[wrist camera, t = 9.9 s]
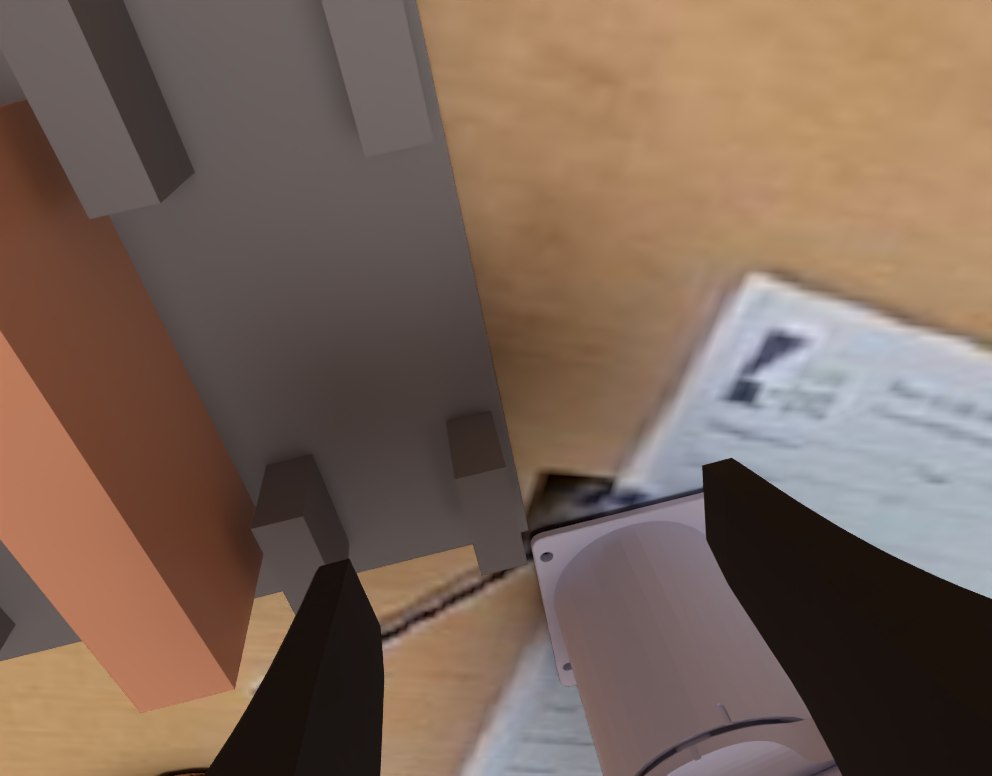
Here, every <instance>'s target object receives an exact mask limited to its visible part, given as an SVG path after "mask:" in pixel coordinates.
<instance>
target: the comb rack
mask: <svg viewBox="0 0 992 776" xmlns="http://www.w3.org/2000/svg"><path fill="white" fill-rule="evenodd" d="M22 99H27V100H28V102H29V104H30V106H31V108H32V110H33V112H34V114H35V116H36V117H37V119H38V121H39V123H40V125H41V127H42V129H43V131H44V133H45V135H46V137H47V139H48V141H49V142H50V144H51V146H52V148H53V150H54V152H55V154H56V156H57V158H58V160H59V162H60V164H61V166H62V167H63V169H64V171H65V173H66V175H67V177H68V179H69V181H70V183H71V185H72V187H73V189H74V191H75V192H76V194H77V196H78V198H79V200H80V202H81V204H82V206H83V208H84V210H85V212H86V214H87V216H88V217H89V219H92V218H97V217H101V216H106V215H109V217H110V219H111V221H112V223H113V225H114V227H115V229H116V231H117V233H118V235H119V237H120V239H121V241H122V243H123V245H124V247H125V249H126V251H127V253H128V255H129V257H130V259H131V261H132V263H133V265H134V266H135V268H136V270H137V272H138V274H139V276H140V278H141V280H142V282H143V284H144V286H145V288H146V290H147V292H148V294H149V296H150V298H151V300H152V302H153V304H154V306H155V308H156V310H157V312H158V314H159V316H160V318H161V320H162V322H163V324H164V326H165V328H166V330H167V332H168V334H169V336H170V338H171V340H172V342H173V344H174V346H175V348H176V350H177V352H178V354H179V356H180V358H181V360H182V362H183V364H184V366H185V368H186V370H187V372H188V374H189V376H190V378H191V380H192V382H193V384H194V386H195V388H196V390H197V392H198V394H199V396H200V398H201V400H202V402H203V404H204V406H205V408H206V410H207V412H208V414H209V416H210V418H211V420H212V422H213V424H214V426H215V428H216V430H217V432H218V434H219V436H220V438H221V440H222V442H223V444H224V446H225V448H226V450H227V452H228V454H229V456H230V458H231V460H232V462H233V464H234V466H235V468H236V470H237V472H238V473H239V475H240V477H241V479H242V481H243V483H244V485H245V487H246V489H247V491H248V493H249V495H250V497H251V499H252V501H253V503H254V505H255V507H256V510H255V514H254V518H253V522H252V526H251V531H252V533H253V535H254V537H255V539H256V540H257V542H258V544H259V546H260V548H261V550H262V552H263V559H262V563H261V568H260V573H259V577H258V582H257V587H256V592H255V596H254V598H257V597H261V596H265V595H269V594H274V593H278V592H282V591H283V592H284V594H285V596H286V598H287V600H288V602H289V604H290V606H291V608H292V610H293V612H294V613H295V615H296V614H297V612H298V610H299V607H300V605H301V603H302V601H303V599H304V597H305V594H306V592H307V590H308V588H309V586H310V583H311V581H312V579H313V577H314V575H315V572H316V571H317V569H318V568H319V566H322V565H326V564H330V563H334V562H338V561H341V560H345V559H349V558H350V561H351V563H352V565H353V567H354V569H355V572H356V573H358V572H362V571H366V570H370V569H374V568H378V567H382V566H386V565H391V564H395V563H399V562H403V561H407V560H411V559H415V558H419V557H423V556H427V555H431V554H435V553H439V552H443V551H447V550H451V549H455V548H459V547H463V546H467V545H471V544H473V546H474V550H475V554H476V557H477V561H478V564H479V568H480V571H481V575H486V574H490V573H494V572H498V571H502V570H506V569H510V568H514V567H518V566H522V565H526V564H527V559H526V555H525V550H524V546H523V541H522V537H521V532H524V531H528V525H527V521H526V516H525V511H524V507H523V502H522V497H521V492H520V488H519V483H518V478H517V474H516V469H515V464H514V459H513V455H512V450H511V445H510V441H509V436H508V431H507V426H506V422H505V417H504V412H503V408H502V403H501V398H500V393H499V389H498V384H497V379H496V375H495V370H494V365H493V361H492V356H491V351H490V346H489V342H488V337H487V332H486V328H485V323H484V318H483V313H482V309H481V304H480V299H479V295H478V290H477V285H476V280H475V276H474V271H473V266H472V262H471V257H470V252H469V247H468V243H467V238H466V233H465V229H464V224H463V219H462V215H461V210H460V205H459V200H458V196H457V191H456V186H455V182H454V177H453V172H452V167H451V163H450V158H449V153H448V149H447V144H446V139H445V134H444V130H443V125H442V120H441V116H440V111H439V106H438V101H437V97H436V92H435V87H434V83H433V78H432V73H431V69H430V64H429V59H428V54H427V50H426V45H425V40H424V36H423V31H422V26H421V21H420V17H419V12H418V7H417V3H416V0H0V104H4V103H9V102H13V101H18V100H22ZM80 641H82V640H81V639H80V638H79V636H78V635H77V634H76V633H75V631H74V630H73V629H72V628H71V626H70V625H69V624H68V623H67V622H66V620H65V619H64V618H63V617H62V615H61V614H60V613H59V612H58V610H57V609H56V608H55V607H54V605H53V604H52V603H51V602H50V600H49V599H48V598H47V597H46V595H45V594H44V593H43V592H42V591H41V589H40V588H39V587H38V586H37V584H36V583H35V582H34V581H33V579H32V578H31V577H30V576H29V574H28V573H27V572H26V571H25V569H24V568H23V567H22V566H21V564H20V563H19V562H18V561H17V560H16V558H15V557H14V556H13V555H12V553H11V552H10V551H9V550H8V548H7V547H6V546H5V545H4V543H3V542H2V541H1V540H0V661H3V660H7V659H11V658H15V657H19V656H23V655H27V654H31V653H35V652H40V651H44V650H48V649H52V648H56V647H60V646H64V645H68V644H72V643H76V642H80Z"/></svg>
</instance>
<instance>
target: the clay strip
mask: <svg viewBox="0 0 992 776" xmlns="http://www.w3.org/2000/svg"><path fill="white" fill-rule="evenodd" d="M255 510H256V507H255V505H254V503H253V501H252V499H251V497H250V495H249V493H248V491H247V489H246V487H245V485H244V483H243V481H242V479H241V477H240V475H239V473H238V472H237V470H236V468H235V466H234V464H233V462H232V460H231V458H230V456H229V454H228V452H227V450H226V448H225V446H224V444H223V442H222V440H221V438H220V436H219V434H218V432H217V430H216V428H215V426H214V424H213V422H212V420H211V418H210V416H209V414H208V412H207V410H206V408H205V406H204V404H203V402H202V400H201V398H200V396H199V394H198V392H197V390H196V388H195V386H194V384H193V382H192V380H191V378H190V376H189V374H188V372H187V370H186V368H185V366H184V364H183V362H182V360H181V358H180V356H179V354H178V352H177V350H176V348H175V346H174V344H173V342H172V340H171V338H170V336H169V334H168V332H167V330H166V328H165V326H164V324H163V322H162V320H161V318H160V316H159V314H158V312H157V310H156V308H155V306H154V304H153V302H152V300H151V298H150V296H149V294H148V292H147V290H146V288H145V286H144V284H143V282H142V280H141V278H140V276H139V274H138V272H137V270H136V268H135V266H134V265H133V263H132V261H131V259H130V257H129V255H128V253H127V251H126V249H125V247H124V245H123V243H122V241H121V239H120V237H119V235H118V233H117V231H116V229H115V227H114V225H113V223H112V221H111V219H110V217H109V215H106V216H101V217H97V218H92V219H89V217H88V216H87V214H86V212H85V210H84V208H83V206H82V204H81V202H80V200H79V198H78V196H77V194H76V192H75V191H74V189H73V187H72V185H71V183H70V181H69V179H68V177H67V175H66V173H65V171H64V169H63V167H62V166H61V164H60V162H59V160H58V158H57V156H56V154H55V152H54V150H53V148H52V146H51V144H50V142H49V141H48V139H47V137H46V135H45V133H44V131H43V129H42V127H41V125H40V123H39V121H38V119H37V117H36V116H35V114H34V112H33V110H32V108H31V106H30V104H29V102H28V100H27V99H22V100H18V101H13V102H9V103H4V104H0V540H1V541H2V542H3V543H4V545H5V546H6V547H7V548H8V550H9V551H10V552H11V553H12V555H13V556H14V557H15V558H16V560H17V561H18V562H19V563H20V564H21V566H22V567H23V568H24V569H25V571H26V572H27V573H28V574H29V576H30V577H31V578H32V579H33V581H34V582H35V583H36V584H37V586H38V587H39V588H40V589H41V591H42V592H43V593H44V594H45V595H46V597H47V598H48V599H49V600H50V602H51V603H52V604H53V605H54V607H55V608H56V609H57V610H58V612H59V613H60V614H61V615H62V617H63V618H64V619H65V620H66V622H67V623H68V624H69V625H70V626H71V628H72V629H73V630H74V631H75V633H76V634H77V635H78V636H79V638H80V639H81V640H82V641H83V643H84V644H85V645H86V646H87V648H88V649H89V650H90V651H91V652H92V654H93V655H94V656H95V657H96V659H97V660H98V661H99V662H100V664H101V665H102V666H103V667H104V669H105V670H106V671H107V672H108V674H109V675H110V676H111V677H112V679H113V680H114V681H115V682H116V683H117V685H118V686H119V687H120V688H121V690H122V691H123V692H124V693H125V695H126V696H127V697H128V698H129V700H130V701H131V702H132V703H133V705H134V706H135V707H136V708H137V710H138V711H139V712H140V713H143V712H147V711H151V710H155V709H159V708H163V707H167V706H171V705H175V704H179V703H183V702H187V701H191V700H195V699H199V698H203V697H206V696H210V695H214V694H218V693H222V692H226V691H230V690H234V689H235V686H236V681H237V676H238V672H239V667H240V662H241V658H242V653H243V648H244V643H245V639H246V634H247V629H248V625H249V620H250V615H251V610H252V606H253V601H254V596H255V592H256V587H257V582H258V577H259V573H260V568H261V563H262V559H263V552H262V550H261V548H260V546H259V544H258V542H257V540H256V539H255V537H254V535H253V533H252V531H251V526H252V522H253V518H254V514H255Z"/></svg>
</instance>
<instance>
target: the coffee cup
mask: <svg viewBox="0 0 992 776" xmlns="http://www.w3.org/2000/svg"><path fill="white" fill-rule="evenodd" d="M204 774H205V773H190V774H183V775H176V776H203V775H204Z"/></svg>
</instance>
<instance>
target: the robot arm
mask: <svg viewBox="0 0 992 776" xmlns="http://www.w3.org/2000/svg"><path fill="white" fill-rule="evenodd" d="M702 470H703V490H704V492H702V493H698V494H694V495H690V496H686V497H682V498H678V499H674V500H670V501H666V502H662V503H658V504H654V505H650V506H646V507H642V508H638V509H634V510H630V511H626V512H622V513H618V514H614V515H610V516H606V517H602V518H598V519H594V520H590V521H586V522H582V523H578V524H574V525H569V526H565V527H561V528H557V529H553V530H549V531H545V532H541V533H539V534H536V535H535V536H534V537H533V538H532V540H531V549H532V553H533V558H534V563H535V567H536V572H537V577H538V581H539V586H540V591H541V595H542V600H543V605H544V610H545V614H546V619H547V624H548V628H549V633H550V638H551V642H552V647H553V652H554V656H555V661H556V666H557V670H558V675H559V679H560V682H561V684H562V685H564V686H574V685H577V687H578V690H579V694H580V697H581V701H582V704H583V707H584V711H585V714H586V718H587V721H588V725H589V728H590V732H591V735H592V738H593V742H594V745H595V749H596V752H597V756H598V759H599V762H600V766H601V769H602V773H603V776H992V599H990V598H988V597H985V596H983V595H980V594H978V593H975V592H973V591H970V590H968V589H965V588H963V587H960V586H958V585H955V584H953V583H951V582H948V581H946V580H944V579H941V578H939V577H937V576H935V575H932V574H930V573H928V572H926V571H924V570H922V569H920V568H917V567H915V566H913V565H911V564H909V563H907V562H905V561H903V560H900V559H898V558H896V557H894V556H892V555H890V554H888V553H886V552H884V551H882V550H880V549H878V548H877V547H875V546H873V545H871V544H869V543H867V542H866V541H864V540H862V539H860V538H858V537H856V536H855V535H853V534H851V533H849V532H847V531H846V530H844V529H842V528H841V527H839V526H837V525H835V524H834V523H832V522H830V521H829V520H827V519H826V518H824V517H822V516H821V515H819V514H817V513H816V512H814V511H812V510H811V509H809V508H808V507H806V506H804V505H803V504H801V503H800V502H798V501H796V500H795V499H793V498H792V497H790V496H789V495H787V494H786V493H784V492H783V491H781V490H780V489H778V488H777V487H775V486H774V485H772V484H771V483H769V482H768V481H766V480H765V479H763V478H762V477H760V476H759V475H757V474H756V473H754V472H753V471H751V470H750V469H748V468H747V467H745V466H744V465H742V464H741V463H739V462H738V461H736V460H734V459H733V458H729V459H725V460H722V461H718V462H714V463H710V464H706V465H703V466H702ZM545 552H549V553H548V554H546V555H542V554H543V553H545ZM383 698H384V666H383V651H382V640H381V628H380V624H379V622H378V620H377V618H376V615H375V613H374V611H373V609H372V607H371V604H370V602H369V600H368V598H367V596H366V594H365V591H364V589H363V587H362V585H361V583H360V580H359V578H358V576H357V574H356V572H355V569H354V567H353V565H352V563H351V561H350V558H349V559H345V560H341V561H338V562H334V563H330V564H326V565H322V566H319V568H318V569H317V571H316V572H315V575H314V577H313V579H312V581H311V583H310V586H309V588H308V590H307V592H306V594H305V597H304V599H303V601H302V603H301V605H300V607H299V610H298V612H297V614H296V616H295V618H294V620H293V622H292V624H291V626H290V629H289V631H288V633H287V635H286V637H285V638H284V640H283V642H282V644H281V646H280V648H279V650H278V652H277V654H276V656H275V658H274V660H273V662H272V664H271V666H270V668H269V670H268V672H267V673H266V675H265V677H264V679H263V681H262V682H261V684H260V686H259V688H258V689H257V691H256V693H255V695H254V696H253V698H252V700H251V702H250V704H249V705H248V707H247V709H246V711H245V712H244V714H243V716H242V717H241V719H240V721H239V722H238V724H237V725H236V727H235V729H234V730H233V732H232V733H231V735H230V737H229V738H228V740H227V741H226V743H225V744H224V746H223V747H222V749H221V750H220V752H219V753H218V755H217V756H216V758H215V760H214V761H213V763H212V764H211V765H210V767H209V768H208V770H207V771H206V773H205V774H204V775H203V776H380V769H381V746H382V724H383Z"/></svg>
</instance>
